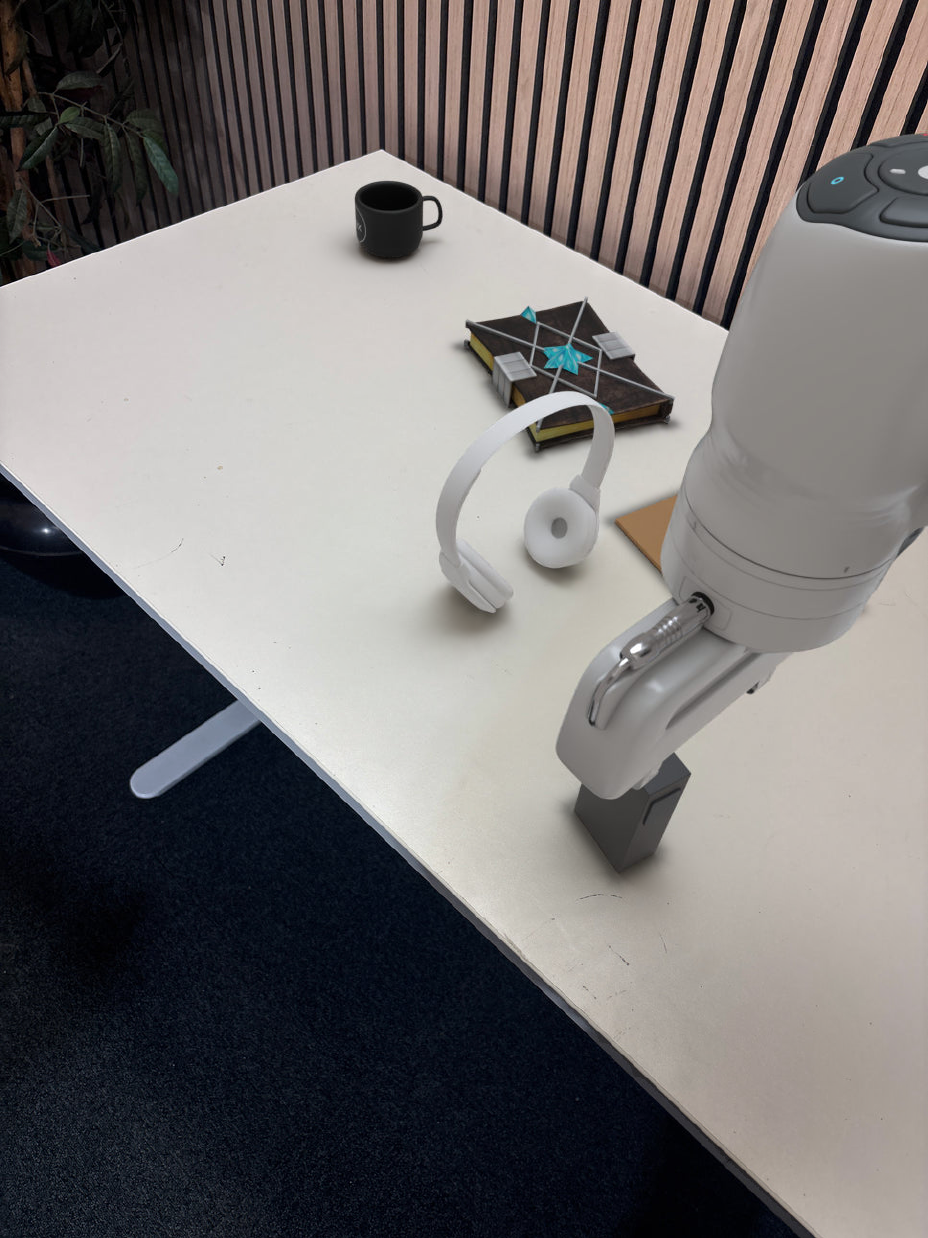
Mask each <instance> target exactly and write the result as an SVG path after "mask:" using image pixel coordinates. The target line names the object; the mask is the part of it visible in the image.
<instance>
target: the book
mask: <svg viewBox="0 0 928 1238" xmlns="http://www.w3.org/2000/svg"><path fill="white" fill-rule="evenodd" d="M588 299H589V296H584V298H583V300H579V301H575V302H572V303H568V304H564V305H559V306H556V307H555V306H554V307H551V308H547V309H542V310H537V311H535V310H534V309H533V308H532V307H531V306H530V305H528V306H526V308H525V309H524V310H523V311H522V312H521V313H520V314H517V315H511V316H506V317H502V318H495V319H488V320H482V321H475V322H474V321H472V320H469V319H466V320H465V323H464V324H465V326H464V328H466V329H468V330H469V331H470V340H469V339H467V338H466V339H464V340H463V348H466V349H468V350H470V351H471V352H472V354H474V356H475V357H476V358H477V359H478V361H479V362H480V363H481V364H482V365H483V367H484V368H485V369H486V371H487V372H488V373H489V375H490V376H491V384H492V386H493V387H494V388H495V390H496V391H497V393H498V394H499V396H500V397H501V399H502V400H503V402H504V403H505V405H506V407H507V408H510V407H513V408H514V410H515V409H517V408H518V407H520V406H522V405H524V404H526V403H528V402H530V401H533V400H535V399H537V398H540V397H542V396H545V395H548V394H552V393H556V392H565V391H573V392H579V393H582V394H584V395H586V396H588V397H590V398H592V399H593V400H594V401H596V402H597V403H599V404H600V405H601V406H602V407H603V408H604V409H605V410H606V411H607V412H608V413H609V415H610V416H611V418H612V421H613V424H614V430H619V429H624V428H628V427H634V426H639V425H640V426H641V425H646V424H651V423H657V422H663V423H667V424H669V422H670V420H671V414H672V412H673V408H674V402H675V398H676V397H675V396H673V395H670V394H667V393H666V392H664V391H663V390H662V389H661V388H660V387H659V386H658V385H657V384H656V383H655V382H654V381H653V380H652V379H650V378H649V376H648V375H647V374H646V373H645V372H644V371H642V370H641V368H640V367H639V366H638V365H637V363H636V362H635V359H636V352H635V351H634V350H633V348H631V346H630V345H629V344H628V342H626V340H625V339H624V338H623V337H622V336H621V335H620V333H618V331H616V330H615V331H612V332H611V331H610V330H609V329H608V328H607V326H606V325H605V324H604V322H603V320H602V319H601V318H600V316H599V315H598V314H597V312H596V311H595V310H594V308H593V307H592V306H591V304H590V303H589V302H588V301H589V300H588ZM525 429H526V430H527V432H528V434H529V437H530V438H531V440H532V442H533V444H534V446H535V448H534V451H535V452H539V450H540V449H541V448H545V447H548V446H552V445H556V444H560V443H564V442H568V441H572V440H575V439H579V438H585V437H589V436H593V435H594V419H593V415H592V412H591V410H590V408H589V407H588V406H587V405H577V406H572V407H568V408H565V409H562V410H559V411H557V412H554V413H552V414H550V415H548V416H546V417H544V418H542V419H540V420H538V421H536V422H534V423H533V424H531V425H529V426H528V427H526V428H525Z"/></svg>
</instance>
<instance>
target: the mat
mask: <svg viewBox="0 0 928 1238" xmlns="http://www.w3.org/2000/svg"><path fill="white" fill-rule="evenodd" d="M677 496H678V494H676V495H673V496H670V497H668V498H665V499H663V500H661V501H657V502H655V503H653V504H650V505H648V506H645V507H643V508H640V509H637V510H634V511H633V512H630V513H627V514H625V515H621V516H620V517H617V518H615V521H614V523H615V524H616V525H617V526H618V527H619V529H620V530H621V531H622V532H623V533H624V534H625V535H626V536H627V537H628V538H629V539H630V540H631V542H632V543H633V544H634V545H635V546H636V547H637V548H638V549H639V550H640V551H641V552H642V553H643V555H644V556H646V558H647V559H648V560H649V561H650V562H651V563H652V564H653V565H654V566H655V568H657V569H658V571H659V572H660V573H661V574H662V570H661V560H660V556H661V548H662V545H663V541H664V538H665V535H666V532H667V528H668V525H669V522H670V518H671V515H672V512H673V509H674V506H675V503H676V499H677Z"/></svg>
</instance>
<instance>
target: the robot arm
mask: <svg viewBox="0 0 928 1238" xmlns="http://www.w3.org/2000/svg"><path fill="white" fill-rule="evenodd" d="M711 384H712V385H711V393H710V397H711V398H710V400H711V401H710V404H711V405H710V406H711V420H710V424H709V427H708V429H707V431H706V432H705V434H704V435H703V436H702V437H701V438H700V440H699V441H698V442H697V444H696V446H695V447H694V449H693V451H692V453H691V455H690V457H689V459H688V461H687V464H686V467H685V470H684V473H683V476H682V480H681V484H680V486H679V491H678V493H677V495H678V496H677V499H676V503H675V506H674V509H673V512H672V515H671V518H670V522H669V525H668V528H667V532H666V535H665V538H664V541H663V545H662V548H661V556H660V560H661V570H662V573H661V574H662V577H663V580H664V583H665V585H666V587H667V589H668V591H669V592H670V594H671V596H672V597H670V598H669V599H667V600H666V601H664V602H663V603H662V604H660V605H659V606H658V607H656V608H655V609H653V610H652V611H651V612H649V613H648V614H646V615H645V616H644V617H643V618H641V619H639V620H638V621H636V623H634V624H632V625H631V626H630V627H628V628H627V629H626V630H624V631H623V632H621V633H620V634H619V635H617V636H616V637H614V638H613V639H612V640H611V641H610V642H608V643H607V644H606V645H605V646H604V647H603V648H602V649H601V650H600V651H599V652H598V653H597V654H596V655H595V656H594V657H593V658H592V659H591V661H590V662H589V664H588V665H587V667H586V668H585V670H584V671H583V673H582V675H581V677H580V678H579V681H578V683H577V684H576V687H575V689H574V691H573V694H572V696H571V698H570V700H569V703H568V706H567V708H566V711H565V714H564V716H563V719H562V722H561V724H560V728H559V731H558V733H557V737H556V740H555V746H554V747H555V749H554V750H555V754H556V756H557V758H558V759H559V760H560V762H561V763H562V765H564V766H565V768H566V769H567V770H568V771H569V772H570V773H571V774H572V775H573V776H574V777H575V778H576V779H577V780H578V782H580V783H582V784H583V785H585V786H586V787H587V788H588V789H589V790H590V791H592V792H593V793H594V794H596V795H597V796H599V797H601V798H604V799H609V800H613V799H617V798H619V797H620V796H622V795H623V794H624V793H626V792H627V791H628V790H629V789H630V788H633V789H635V790H639V789H640V788H642V787H643V786H644V785H645V784H646V783H648V782H649V781H650V780H651V779H652V778H653V777H655V776H656V775H657V774H658V772H659V771H658V770H659V768H660V767H661V765H662V762H663V761H664V760H665V759H666V758H668V757H669V756H670V755H671V754H672V753H674V752H675V753H676V751H677V750H679V749H680V748H681V747H682V746H683V745H684V744H686V743H687V742H688V741H690V740H691V739H692V738H693V737H694V736H696V735H697V734H698V733H699V732H700V731H702V730H703V729H704V728H705V727H706V726H707V725H708V724H710V723H711V722H712V721H714V720H715V719H716V718H718V716H719V715H721V714H722V713H723V712H724V711H725V710H727V709H728V708H729V707H730V706H731V705H734V703H735V702H736V701H737V700H739V699H740V698H741V697H742V696H743V695H745V694H747V695H754V694H755V693H756V692H758V691H759V690H761V688H762V687H764V686H765V685H767V683H768V682H770V681H771V678H772V677H773V674H775V671H776V670H777V667H778V666H779V665H781V664H782V663H783V662H784V661H786V660H787V659H789V657H790V656H792V655H793V654H794V653H800V652H802V653H803V652H807V651H812V650H815V649H819V648H822V647H825V646H828V645H830V644H832V643H834V642H836V641H838V639H840V638H842V637H843V636H844V635H845V634H847V633H848V632H849V631H850V630H851V629H852V627H853V626H854V625H855V624H856V622H857V620H858V619H859V617H860V615H861V614H862V612H863V611H864V609H865V607H866V606H867V604H868V602H869V600H870V599H871V597H872V595H873V594H874V593H876V591H877V590H878V589H879V587H880V585H881V584H882V582H883V580H884V579H885V577H886V576H887V574H888V572H889V571H890V569H891V567H892V565H893V563H894V562H895V561H896V560H897V559H898V558H899V557H900V556H901V555H902V554H903V553H904V551H906V549H908V548H909V547H910V546H911V545H912V544H913V543H914V542H915V541H916V540H917V539H918V537H919V536H920V535H921V534H922V533H923V532H924V531H925V529H926V528H927V527H928V132H925V133H924V132H923V133H922V132H921V133H911V134H903V135H897V136H892V137H887V138H884V139H879V140H876V141H872V142H871V143H869V144H866V145H864V146H860V147H858V148H855V149H851V150H849V151H847V152H844V153H842V154H840V155H838V156H837V157H835V158H833V159H832V160H830V161H828V162H826V163H825V164H824V165H822V166H821V167H820V168H818V169H817V170H816V171H814V173H812V174H811V175H810V176H809V177H808V178H807V179H806V180H805V181H804V182H803V183H802V184H801V185H800V186H799V188H798V189H797V191H795V192H794V194H793V196H792V197H791V198H790V199H789V201H788V202H787V204H786V205H785V207H784V208H783V210H782V212H781V213H780V214H779V216H778V218H777V220H776V222H775V223H774V225H773V227H772V229H770V232H769V234H768V236H767V238H766V240H765V242H764V243H763V246H762V248H761V250H760V253H759V255H758V257H757V259H756V261H755V264H754V266H753V268H752V270H751V272H750V275H749V278H748V280H747V282H746V285H745V287H744V290H743V293H742V295H741V297H740V300H739V302H738V305H737V308H736V311H735V313H734V316H733V319H732V322H731V324H730V327H729V330H728V332H727V336H726V339H725V342H724V345H723V348H722V351H721V354H720V357H719V361H718V363H717V367H716V370H715V373H714V376H713V381H712V383H711Z"/></svg>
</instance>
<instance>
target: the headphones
mask: <svg viewBox="0 0 928 1238" xmlns="http://www.w3.org/2000/svg"><path fill="white" fill-rule="evenodd" d="M577 405H587V406H588V407H589V408H590V410H591V412H592V415H593V419H594V435H592V441H591V445H590V450H589V452H588V455H587V458H586V461H585V464H584V466H583V469H582V471H581V473H580V474H579V473H577V474H576V475H575V477H574V478H573V479H572V480H571V481H570V483H569V488H566V487H562V486H554V487H552V488H549V489H548V490H546V491H544V492H542V493H540V495H538V496H537V498H535V499H534V500H533V501H532V503H531V504H530V506H529V508H528V510H527V512H526V515H525V517H524V521H523V529H522V530H523V540H524V545H525V547H526V549H527V552H528V553H529V555H530V556H531V558H532V559H533V560H534V561H536V563H537V564H539V565H541V566H542V567H546V568H549V569H561V568H566V567H570V566H575V565H577V564H579V563H582V561H584V560H585V559H586V558H587V557H588V556H589V555H590V554H591V553H592V551H593V550H594V548H595V546H596V543H597V542H598V541H597V540H598V537H599V530H600V517H599V513H600V505H601V492H602V491H601V489H600V487H601V485H602V484H603V481H604V479H605V476H606V473H607V470H608V468H609V465H610V462H611V459H612V456H613V452H614V446H615V440H616V439H615V437H616V432H615V430H616V429H615V430H614V424H613V421H612V418H611V416H610V415H609V413H608V412H607V411H606V410H605V409H604V408H603V407H602V406H601V405H600V404H599V403H597V402H596V401H594V400H593V399H592V398H590V397H588V396H586V395H584V394H582V393H579V392H573V391H565V392H556V393H552V394H548V395H545V396H542V397H540V398H537V399H535V400H533V401H530V402H528V403H526V404H524V405H522V406H520V407H518V408H517V409H515V408H514V409H513V410H511V411H510V412H508V413H507V414H505V415H504V416H502V417H501V418H499V419H498V420H497V421H496V422H494V423H493V424H492V425H490V427H488V428H487V429H486V430H485V431H483V432H482V433H481V434H480V435H479V436H478V437H477V438H476V439H475V440H474V441H473V442H472V443H471V444H470V445H469V447H467V449H466V450H465V451H464V452H463V453H462V455H461V456H460V457H459V458H458V460H457V461H456V463H455V464H454V466H453V468H452V469H451V471H450V472H449V474H448V476H447V478H446V480H445V482H444V484H443V486H442V489H441V492H440V495H439V498H438V501H437V506H436V510H435V511H436V512H435V531H436V536H437V540H438V543H439V547H440V550H439V554H438V564H439V566H440V569H441V570H440V571H441V573H442V574H443V576H444V577H445V578H446V579H447V581H448V582H449V583H450V584H451V585H452V586H453V587H454V588H455V589H456V590H457V591H458V592H459V593H460V594H461V595H462V596H464V597H465V598H466V599H467V600H468V601H469V602H470V603H471V604H472V605H474V606H475V607H476V608H477V609H480V610H481V611H484V612H488V613H490V614H491V613H492V614H494V613H496V611H497V610H496V609H500V608H502V607H503V606H504V605H505V603H506V602H507V601H509V600H511V599H512V597H513V596H514V589H513V587H512V586H511V585H510V584H509V582H508V581H507V580H506V579H505V578H504V577H503V576H502V575H501V574H500V573H499V571H497V569H495V567H494V566H493V565H492V564H491V563H490V562H488V561H487V560H486V558H484V556H482V555H481V554H480V553H479V551H477V550H476V549H475V548H474V547H473V546H472V545H471V544H470V543H468V542H467V541H465V540H464V539H462V538H457V527H458V521H459V518H460V513H461V510H462V509H463V505H464V503H465V501H466V498H467V497H468V494H469V493H470V491H471V489H472V488H473V486H474V484H475V483H476V481H477V480H478V478H479V476H480V475H481V472H482V468H483V467H484V466H485V465H486V464H487V462H488V461H489V460H490V459H491V458H492V456H494V454H496V453H497V452H498V451H499V450H500V449H501V448H502V447H503V446H504V445H505V444H506V443H507V442H509V441H510V440H511V439H512V438H513V437H515V436H516V435H518V434H519V433H521V432H522V431H523V430H525V429H527V428H526V427H528V426H529V425H531V424H533V423H534V422H536V421H538V420H540V419H542V418H544V417H546V416H548V415H550V414H552V413H554V412H557V411H559V410H562V409H565V408H568V407H572V406H577Z"/></svg>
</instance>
